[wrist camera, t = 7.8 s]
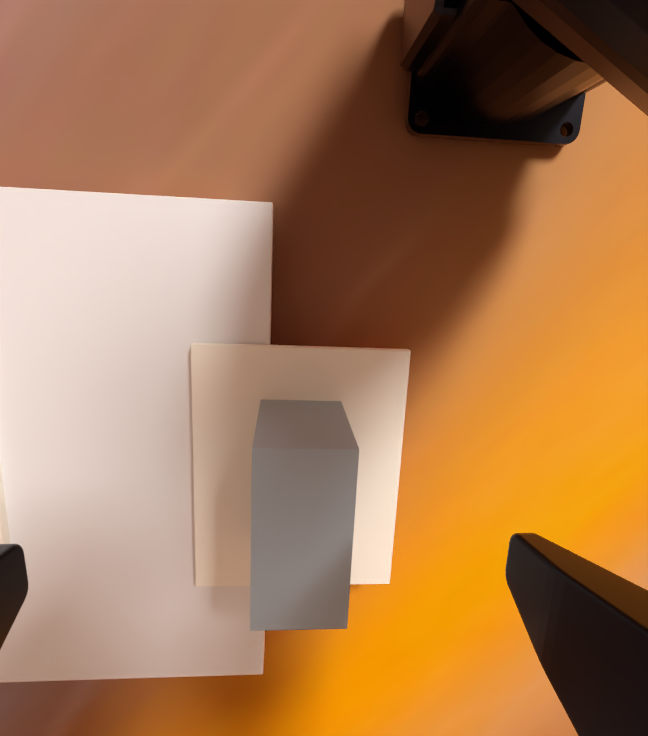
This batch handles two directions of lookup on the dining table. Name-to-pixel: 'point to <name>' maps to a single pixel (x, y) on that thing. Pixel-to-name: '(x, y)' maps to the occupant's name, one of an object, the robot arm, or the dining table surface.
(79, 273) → the board
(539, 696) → the dining table surface
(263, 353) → the cream plate grey block
